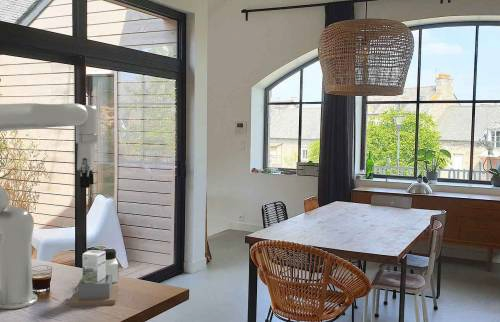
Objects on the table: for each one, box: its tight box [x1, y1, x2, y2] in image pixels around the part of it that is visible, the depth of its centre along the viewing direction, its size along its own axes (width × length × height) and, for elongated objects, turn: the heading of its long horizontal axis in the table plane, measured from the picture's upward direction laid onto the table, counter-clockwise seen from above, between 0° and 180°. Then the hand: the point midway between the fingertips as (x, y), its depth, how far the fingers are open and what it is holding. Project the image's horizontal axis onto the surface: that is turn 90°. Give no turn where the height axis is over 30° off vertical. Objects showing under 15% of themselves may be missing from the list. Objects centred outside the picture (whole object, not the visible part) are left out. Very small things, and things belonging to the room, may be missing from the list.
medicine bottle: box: [99, 247, 119, 284], centre depth 187 cm, size 7×7×12 cm
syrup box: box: [82, 249, 106, 283], centre depth 167 cm, size 6×6×14 cm
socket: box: [70, 274, 120, 307], centre depth 168 cm, size 14×14×6 cm
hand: (87, 185), depth 181 cm, fingers open, 9 cm apart
